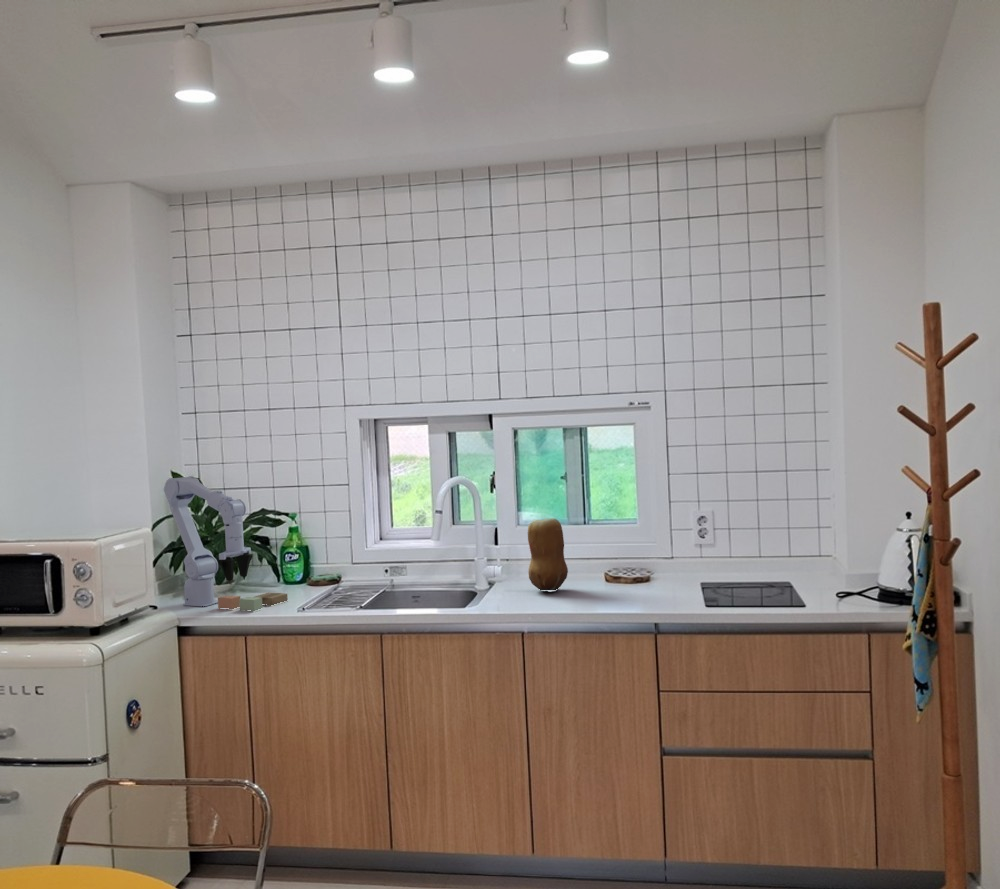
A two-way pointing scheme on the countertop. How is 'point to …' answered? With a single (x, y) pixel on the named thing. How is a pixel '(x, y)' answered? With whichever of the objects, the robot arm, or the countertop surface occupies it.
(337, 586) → the countertop surface
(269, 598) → the walnut slab
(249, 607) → the sage brick
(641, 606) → the countertop surface
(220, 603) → the terracotta brick
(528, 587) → the countertop surface
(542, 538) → the butternut squash
